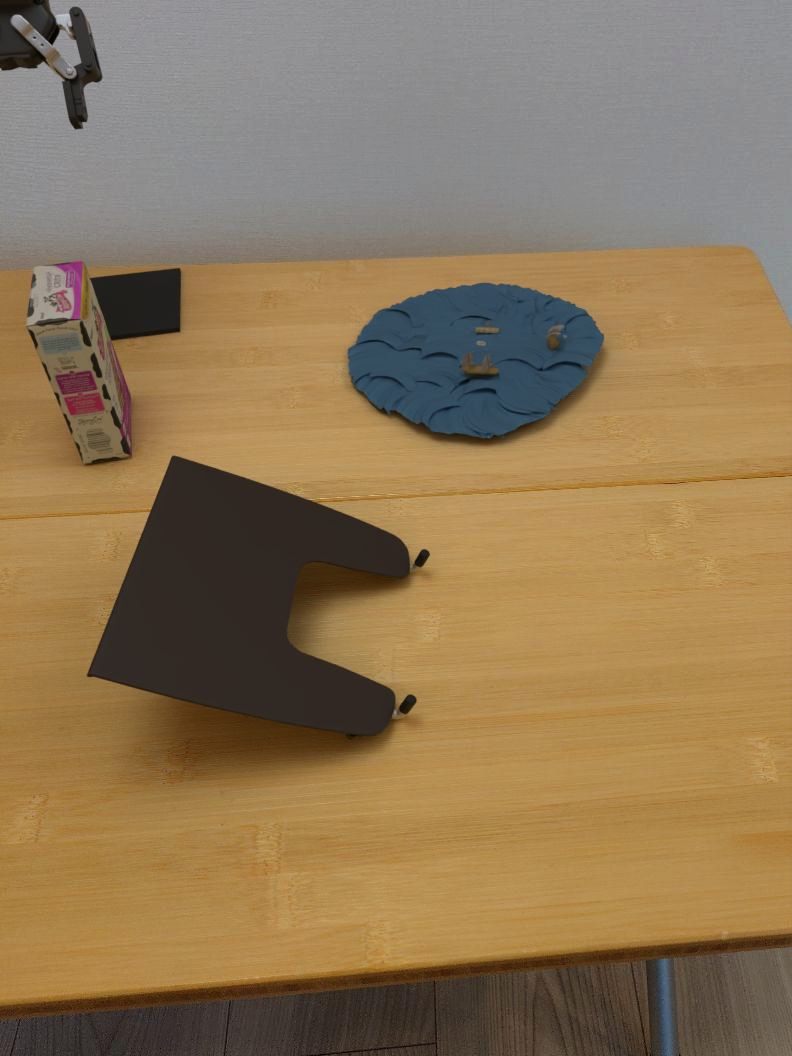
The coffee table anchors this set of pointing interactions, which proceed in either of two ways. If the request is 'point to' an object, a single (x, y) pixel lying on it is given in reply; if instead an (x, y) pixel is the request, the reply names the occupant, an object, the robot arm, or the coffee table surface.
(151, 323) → the mat
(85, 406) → the candy bar box
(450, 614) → the coffee table surface
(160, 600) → the laptop tray
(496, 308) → the blue wavy sea disc
